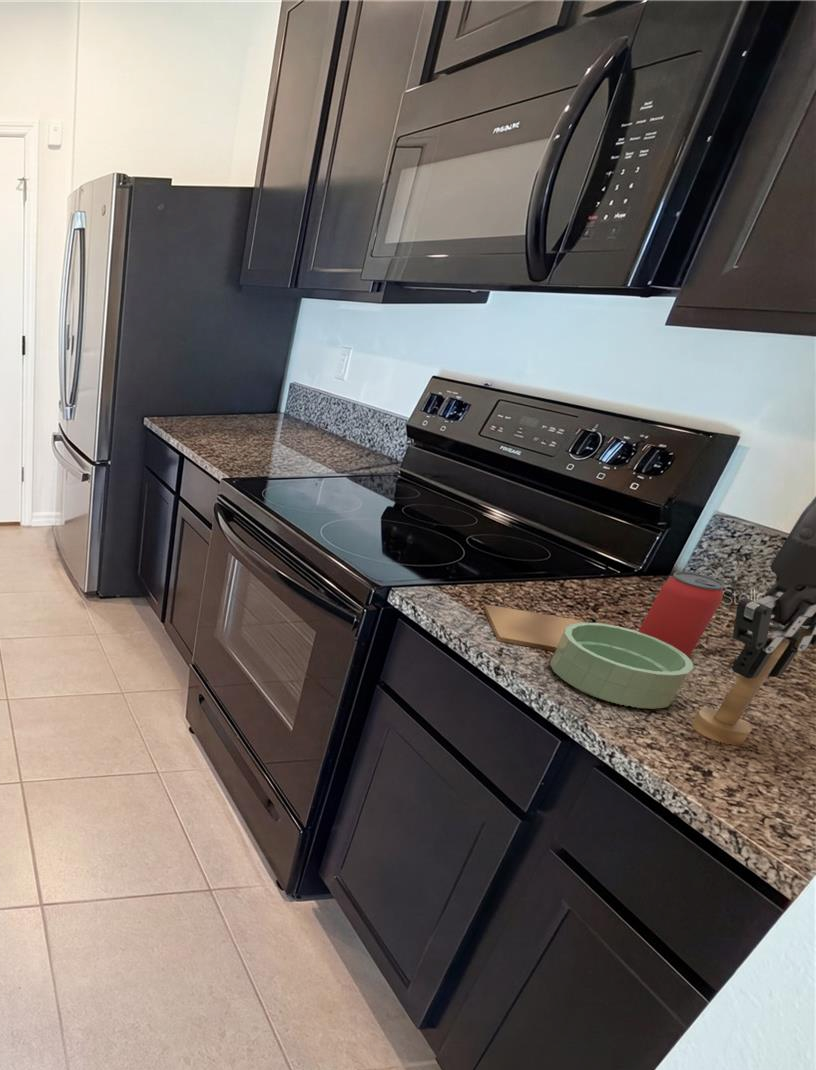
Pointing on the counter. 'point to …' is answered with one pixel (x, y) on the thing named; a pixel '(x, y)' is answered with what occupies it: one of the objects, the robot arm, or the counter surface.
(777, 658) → the muddler
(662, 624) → the beer can
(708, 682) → the counter surface
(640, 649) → the bowl
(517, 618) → the plate
